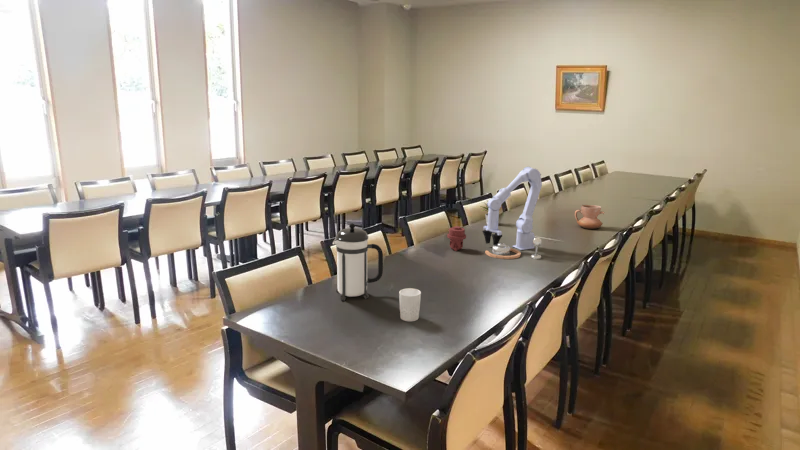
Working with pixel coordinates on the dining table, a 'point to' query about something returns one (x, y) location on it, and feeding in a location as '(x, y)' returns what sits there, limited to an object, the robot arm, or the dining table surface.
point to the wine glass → (537, 243)
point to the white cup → (409, 304)
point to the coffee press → (354, 262)
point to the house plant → (486, 211)
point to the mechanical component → (456, 237)
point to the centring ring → (505, 256)
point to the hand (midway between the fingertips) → (491, 245)
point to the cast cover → (501, 249)
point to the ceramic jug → (589, 216)
